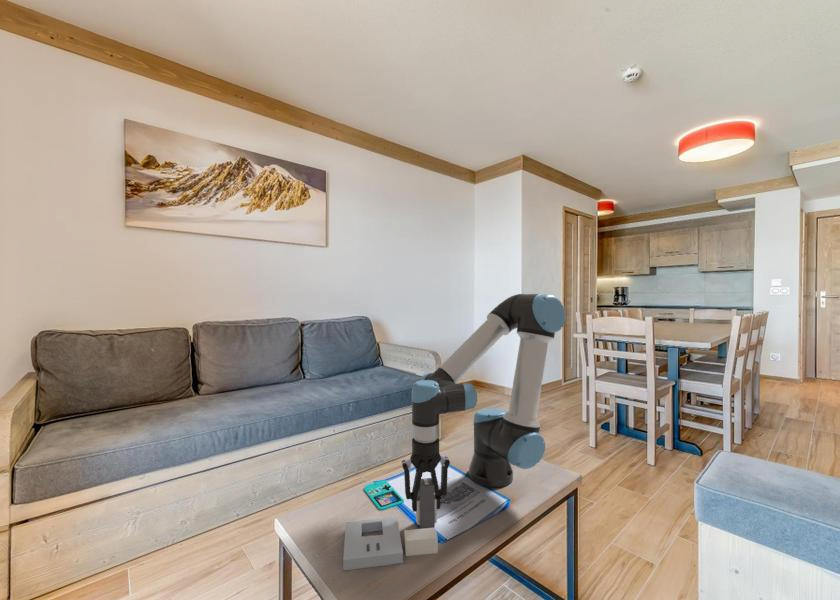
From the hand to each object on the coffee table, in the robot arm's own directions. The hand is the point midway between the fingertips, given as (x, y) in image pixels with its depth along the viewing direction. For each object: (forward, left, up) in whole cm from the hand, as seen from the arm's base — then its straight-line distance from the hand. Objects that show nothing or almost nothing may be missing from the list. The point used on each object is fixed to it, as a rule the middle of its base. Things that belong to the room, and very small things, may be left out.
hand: (426, 520), depth 100 cm
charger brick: (0, 0, -1) cm, 1 cm away
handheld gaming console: (+11, -17, -2) cm, 20 cm away
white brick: (+3, +9, -1) cm, 10 cm away
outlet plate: (+15, +6, -1) cm, 16 cm away
